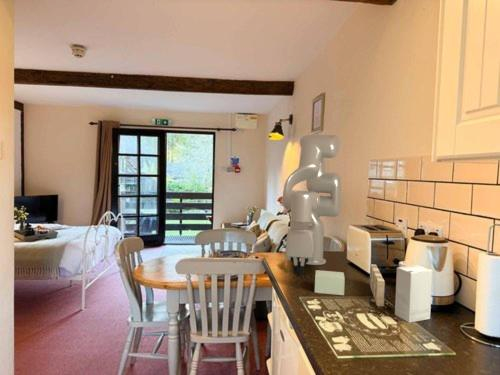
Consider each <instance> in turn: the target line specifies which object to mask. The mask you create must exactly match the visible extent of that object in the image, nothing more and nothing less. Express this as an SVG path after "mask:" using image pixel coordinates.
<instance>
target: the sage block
mask: <svg viewBox="0 0 500 375" xmlns="http://www.w3.org/2000/svg"><path fill="white" fill-rule="evenodd" d="M344 273H345V272H341V271H333V270H331V271H330V270H320V269H319V270H317V269H316V270H315V275H314V276H315V279H314V293H318V294H328V295H339V296H345V284H346V282H345V279H346V278H345V274H344Z"/></svg>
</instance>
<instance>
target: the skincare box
mask: <svg viewBox="0 0 500 375" xmlns="http://www.w3.org/2000/svg"><path fill="white" fill-rule="evenodd" d="M433 271H434V270H432V269H429V268H427V267H423V266H421V265H419V264H417V265H414V266H406V267H400V266H399V267H396V280H395V281H396V282H395V283H396V284H395V302H394V304H395V305H394V316H396V317H399V318H400V319H401V320H403V321H404V322H407V323H409V324H410V323H415V322H420V321H426V320H430V319H431V309H432V306H431V305H432V285H433V273H434V272H433Z"/></svg>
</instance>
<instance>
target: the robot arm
mask: <svg viewBox="0 0 500 375" xmlns="http://www.w3.org/2000/svg"><path fill="white" fill-rule="evenodd" d="M339 138H340V137H338V135H336V134H307V135H303V136H302V137H301V138H300V140H299V145H300V156H299V161H298V162H299V163H298V168H296V169H295V170H293V172H292V173H290V175H289V176H288V177H287V179H286V180H285V183H284V186H283V190H282V191H283V192H282V196H281V197H282V200H281V201H282V207H284V209H286V210H290V223H289V224H290V225H289V226H290V227H289V228H288V230H287V234H286V240H285V242H286V243H285V255H284V259H285V260H288V261H291V262H292V263H293V265H294V274H295V275H296V277H299V278H301V277H302V275H304V266H305V265H312V266H319V265H321V266H322V265H325V264H327V260H326V258H324V238H325V235H324V234H325V225H324V223H323V221H322V220H321V218H320V217H332V218H334V217H335V218H336V217H338V216H339V215H340V214H341V213H340V212H341V204H342V203H341V201H342V180H341V176H340V175H339V174H338V173H336V172H326V161H325V159H334V158H335V157H337V154H338V152H339V149H340V139H339ZM304 181H306V182H305V183H306V184H305V186H306V190H295V189H294V187H295V186H297V185H298V184H299V183H302V182H304ZM319 194H329V195H319ZM298 258H299V259H298ZM299 262H300V263H299Z"/></svg>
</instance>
